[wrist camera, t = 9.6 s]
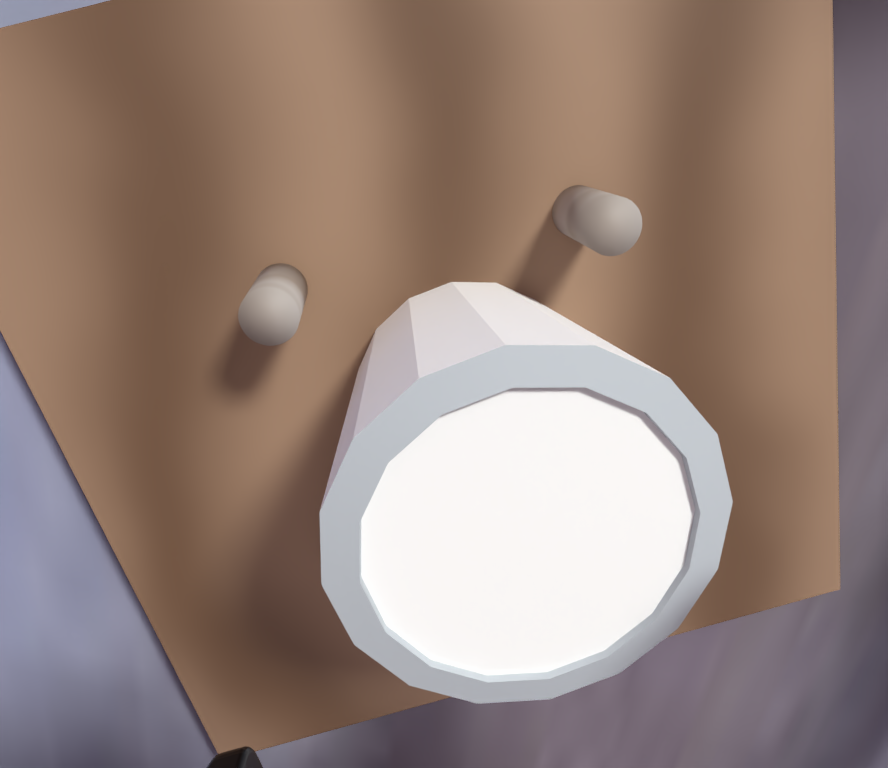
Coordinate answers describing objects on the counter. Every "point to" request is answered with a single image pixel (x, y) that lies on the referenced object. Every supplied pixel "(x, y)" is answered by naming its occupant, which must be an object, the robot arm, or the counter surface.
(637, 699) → the counter surface
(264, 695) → the pin plate
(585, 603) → the shot glass
